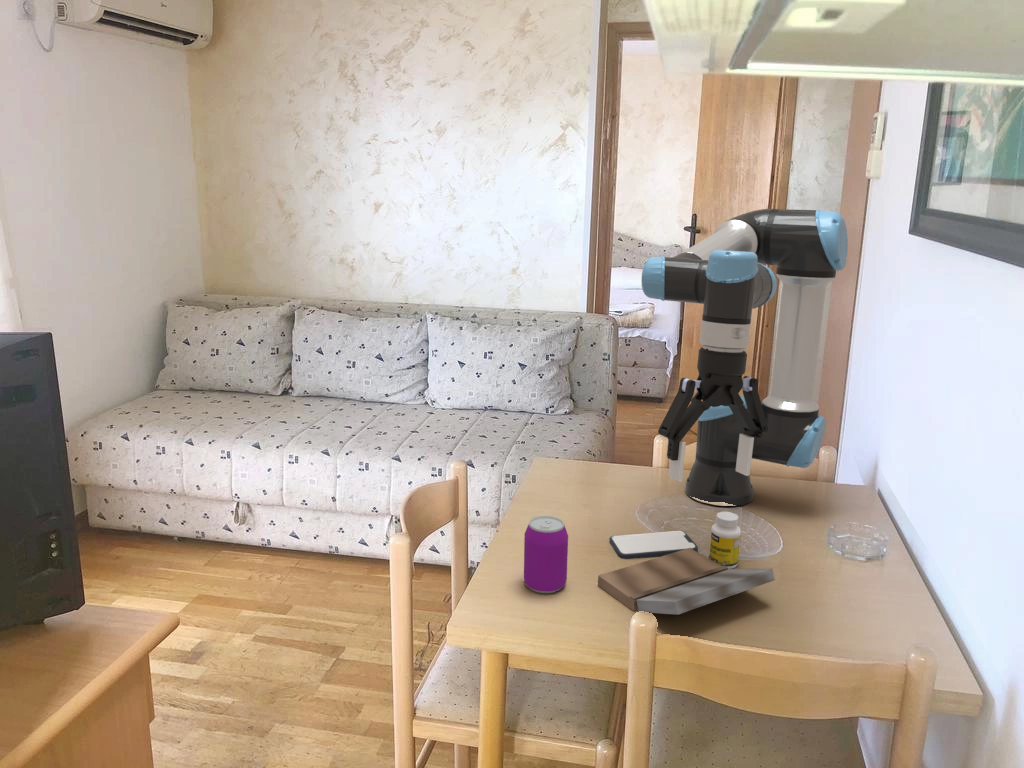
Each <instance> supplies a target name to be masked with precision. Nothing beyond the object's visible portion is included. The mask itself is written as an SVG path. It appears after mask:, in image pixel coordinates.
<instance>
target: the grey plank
mask: <svg viewBox="0 0 1024 768" xmlns="http://www.w3.org/2000/svg"><path fill="white" fill-rule="evenodd" d="M774 581H776V578H775V574H774V570H773V568H771V567H770V568H767V567H766V568H732V569H728V570H726V571H723V572H720V573H717V574H714V575H711V576H708V577H705V578H702V579H699V580H695V581H692V582H689V583H686V584H683V585H680V586H677V587H674V588H671V589H668V590H665V591H662V592H659V593H656V594H653V595H650V596H647V597H644V598H641V599H638V600H636V601H637V605H638V610H637V611H638V612H639V611H646V612H650V613H651V614H663V615H681V614H684V613H688V612H689V611H690V612H691V611H692V610H695V609H698V608H701V607H703V606H707V605H708V604H709V605H710V604H713V603H715V602H717V601H721V600H723V599H726V598H729V597H731V596H735V595H737V594H740V593H743V592H745V591H749V590H751V589H754V588H757V587H760V586H763V585H766V584H769V583H770V582H774ZM650 613H649V614H650Z"/></svg>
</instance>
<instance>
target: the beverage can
mask: <svg viewBox="0 0 1024 768" xmlns="http://www.w3.org/2000/svg"><path fill="white" fill-rule="evenodd" d="M523 539H524V540H523V541H524V542H523V543H524V545H523V548H524V549H523V550H524V551H523V552H524V553H523V580H524V584H525V585H526V586H527V587H528V588H529V589H530V590H531V591H533V592H536V593H539V594H554V593H556V591H557V592H558V591H560V590H561V589H563V588H564V587H565V586H566V584H567V578H568V576H567V575H568V551H569V534H568V531H567V528H566V526H565V523H564V520H563V519H561V518H560V517H557V516H552V515H538V516H535V517H532V518H531V519H530V520H529V522H528V525H527V527H526V529H525V531H524V538H523ZM553 592H554V593H553Z"/></svg>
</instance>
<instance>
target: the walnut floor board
mask: <svg viewBox="0 0 1024 768" xmlns="http://www.w3.org/2000/svg"><path fill="white" fill-rule="evenodd" d="M726 570H729V569H728V567H726V566H721V565H720V564H718V563H716V562H714V561H713V560H711V559H709V557H707V556H705V555H704V554H702V553H701V552H696V551H695V550H693V549H691V548H688V549H684V550H681V551H678V552H674V553H671V554H668V555H664V556H661V557H653V558H652V559H651V558H650V559H648V560H645V561H641V562H638V563H635V564H631V565H628V566H625V567H622V568H618V569H615V570H612V571H609V572H605V573H603V574H599V575H597V577H598V578H597V586H598V587H599V588H601V589H602V590H603V591H605V592H606V593H607V594H609V595H610V596H611V597H613V598H615V599H616V600H617V601H618V602H620V603H621V604H623V605H624V606H625V607H629V608H628V609H630V610H631V611H633V612H636V611H639V610H638V605H637V601H636V600H638V599H641V598H644V597H647V596H650V595H653V594H656V593H659V592H662V591H665V590H668V589H671V588H674V587H677V586H680V585H683V584H686V583H689V582H692V581H695V580H699V579H702V578H705V577H708V576H711V575H714V574H717V573H720V572H723V571H726Z"/></svg>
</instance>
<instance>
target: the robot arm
mask: <svg viewBox="0 0 1024 768" xmlns="http://www.w3.org/2000/svg"><path fill="white" fill-rule="evenodd" d="M848 248H849V247H848V231H847V224H846V221H845V217H843V215H842V214H840V213H839V212H836V211H830V210H821V209H815V210H814V209H791V208H790V209H784V208H782V209H781V208H779V209H777V208H761V209H756V210H752V211H749V212H748V211H747V212H746V213H742V214H739V215H737V216H734V217H732V218H729V219H728V220H725V221H724V222H722V223H721V224H719V225H718V226H717V228H715V230H714V231H713V234H711V235H710V236H708V237H706V238H704V239H702V240H700V241H698V243H696V244H693V245H692V246H691V247H689V248H687V249H685V250H684V251H682V252H680V253H678V254H676V255H675V256H673V257H669V256H665V255H662V256H652V257H649V258H648V259H647V260H646V261H645V263H644V265H643V268H642V272H641V289H642V292H643V294H644V295H645V296H646V297H647V298H649V299H655V300H661V301H662V302H664V301H668V302H679V303H680V302H681V303H689V304H690V303H691V304H702V305H703V309H702V319H701V326H700V332H699V333H700V334H699V341H698V343H699V345H701V346H702V347H700V349H698V355H697V364H696V365H697V366H696V367H697V368H696V369H697V372H698V375H697V379H690V378H687V377H682V378H680V381H679V384H678V385H679V386H678V390H677V393H676V394H675V397H674V399H673V400H672V402H671V405H670V406H669V408H668V411H667V413H666V414H665V415H664V416H665V417H663V420H662V422H661V423H660V424H661V425H659V428H658V431H657V433H658V435H660V436H663V437H665V438H667V440H668V442H667V451H666V452H667V453H666V457H667V459H669V466H668V478H670V479H672V480H674V481H676V482H681V483H682V482H683V474H684V465H685V456H686V447H687V445H686V444H687V442H686V441H684V440H683V439H684V438H685V436H686V435H687V433H689V431H690V430H691V428H692V427H694V425H695V424H696V422H697V431H696V432H697V433H696V447H695V458H694V463H693V465H692V467H691V469H690V472H689V475H688V476H687V478H686V481H685V489H684V491H685V494H686V495H687V496H688V497H689V496H691V497H695V498H698V499H700V500H704V501H708V502H725V503H728V504H733V505H739V506H738V507H741V506H740V505H742V506H744V505H748V504H749V503H751V502H752V501H753V499H754V498H753V496H754V486H753V484H752V482H751V476H750V475H751V466H752V461H753V460H759V461H764V462H768V463H769V462H770V463H771V464H772V463H773V464H779V465H783V466H786V467H788V468H789V467H794V468H800V469H801V468H802V469H806V468H808V467H810V466H811V465H812V464H813V463H814V461H815V459H816V457H817V455H818V453H819V450H820V447H821V444H822V443H823V438H824V435H825V430H826V423H827V420H826V418H825V417H824V416H823V415H819V412H820V411H819V410H820V405H818V403H817V402H816V401H815V400H814V398H813V396H814V390H815V389H814V388H815V381H816V371H817V365H818V364H817V363H818V357H819V349H820V339H821V331H822V323H823V315H824V308H825V300H826V293H827V292H826V291H827V287H828V285H830V283H832V282H833V281H834V280H835V279H836V274H837V272H839V271H842V270H844V268H845V267H846V265H847V258H848ZM768 266H775V267H776V272H775V274H774V271H773V270H772V269H771V268H770V267H768ZM776 277H777V278H778V279H779V281H780V282H781V283H782V287H781V294H780V306H779V313H778V315H779V316H778V324H777V332H776V343H775V350H774V360H773V369H772V378H771V387H770V394H769V395H767V396H766V397H765V398H764V399H763V400H762V401H761V398H760V394H759V379H758V378H755V377H752V376H748V375H745V373H746V370H747V369H746V367H747V358H748V354H747V352H746V351H745V349H748V347H749V340H750V331H751V323H752V314H753V309H754V310H755V309H757V308H760V307H763V306H764V305H765V304H767V303H769V302H770V301H771V300H772V299H773V297H774V296H775V294H776V291H777V288H778V286H777V285H778V284H777V283H778V282H777V278H776ZM743 375H744V376H743ZM741 390H742V394H739V393H740V391H741ZM694 394H695V395H694ZM747 503H748V504H747Z"/></svg>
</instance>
